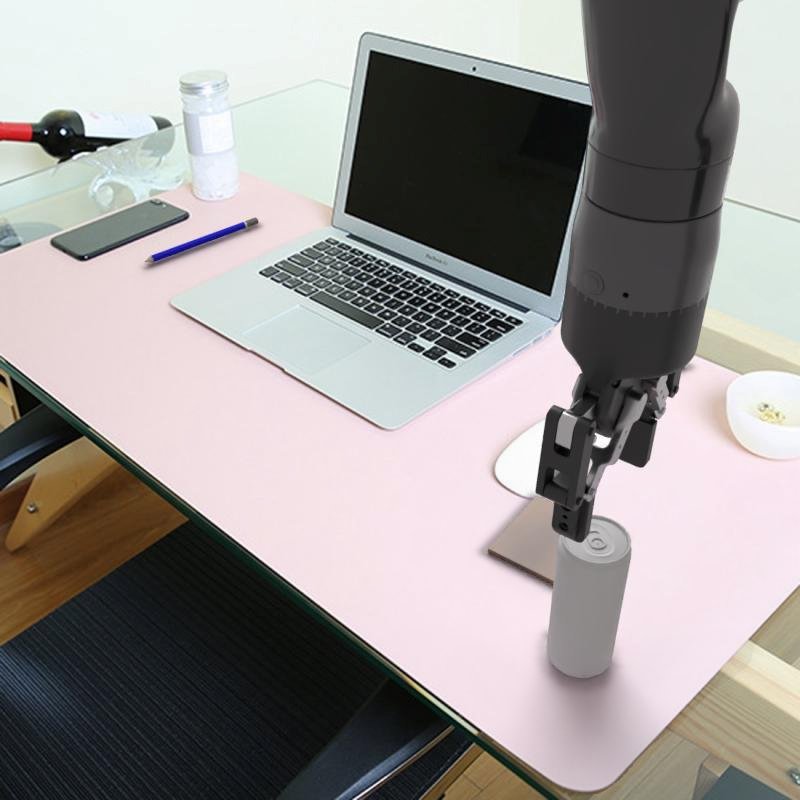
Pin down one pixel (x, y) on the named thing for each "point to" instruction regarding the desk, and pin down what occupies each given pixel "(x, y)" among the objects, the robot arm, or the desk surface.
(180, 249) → the pencil
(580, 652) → the beverage can
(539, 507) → the coaster
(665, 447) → the desk surface
